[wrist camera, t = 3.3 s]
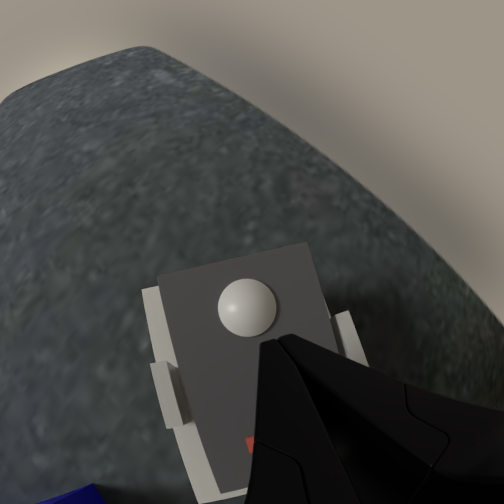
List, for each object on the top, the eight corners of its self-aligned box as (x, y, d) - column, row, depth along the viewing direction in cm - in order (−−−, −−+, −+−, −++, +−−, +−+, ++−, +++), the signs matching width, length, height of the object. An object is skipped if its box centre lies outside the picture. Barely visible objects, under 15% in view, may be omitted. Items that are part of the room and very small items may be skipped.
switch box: (327, 434, 18) (400, 451, 9) (207, 471, 16) (193, 523, 8) (282, 297, 22) (318, 225, 13) (166, 325, 20) (127, 268, 12)
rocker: (348, 438, 11) (362, 447, 10) (219, 480, 10) (220, 495, 9) (298, 250, 13) (307, 240, 12) (161, 281, 12) (155, 275, 11)
